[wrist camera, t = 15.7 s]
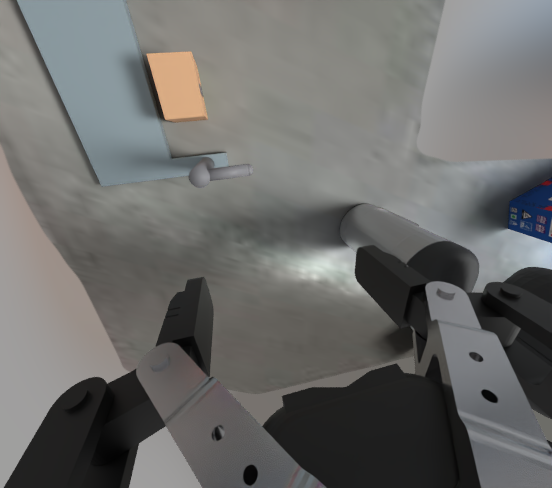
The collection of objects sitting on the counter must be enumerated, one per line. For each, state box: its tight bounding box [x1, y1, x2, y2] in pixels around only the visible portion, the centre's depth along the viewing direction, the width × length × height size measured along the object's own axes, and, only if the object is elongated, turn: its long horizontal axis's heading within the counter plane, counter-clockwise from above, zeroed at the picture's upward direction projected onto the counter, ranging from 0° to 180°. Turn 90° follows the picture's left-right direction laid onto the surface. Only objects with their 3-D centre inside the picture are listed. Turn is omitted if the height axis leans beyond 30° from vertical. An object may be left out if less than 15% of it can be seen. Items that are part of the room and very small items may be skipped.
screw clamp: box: [17, 0, 253, 188], centre depth 22 cm, size 21×24×14 cm
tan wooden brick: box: [147, 52, 208, 123], centre depth 27 cm, size 5×6×6 cm
